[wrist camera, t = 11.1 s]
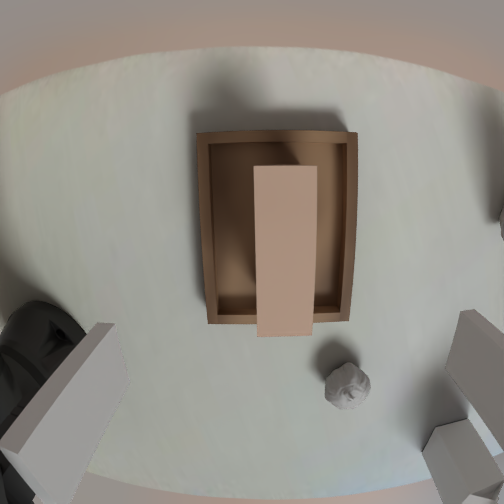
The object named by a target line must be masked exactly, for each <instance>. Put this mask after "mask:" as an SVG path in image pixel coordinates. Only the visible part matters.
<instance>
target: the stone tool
mask: <svg viewBox="0 0 504 504" xmlns="http://www.w3.org/2000/svg"><path fill="white" fill-rule="evenodd" d="M499 220H500V226H501V236H502V238H503V240H504V207H503V209H502V212H501V215H500V217H499Z"/></svg>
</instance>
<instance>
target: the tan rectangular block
mask: <svg viewBox="0 0 504 504" xmlns="http://www.w3.org/2000/svg"><path fill="white" fill-rule="evenodd" d="M254 205H255V249H256V296H257V337H275V336H309V335H312V325H313V309H314V290H315V268H316V236H317V166H312V165H301V164H272V165H255V166H254Z"/></svg>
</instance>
